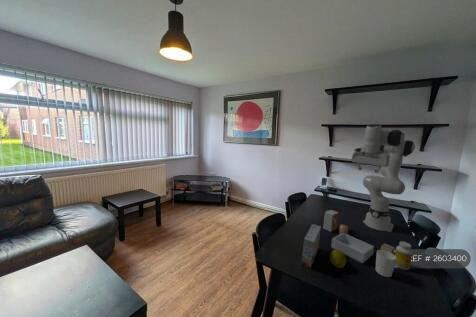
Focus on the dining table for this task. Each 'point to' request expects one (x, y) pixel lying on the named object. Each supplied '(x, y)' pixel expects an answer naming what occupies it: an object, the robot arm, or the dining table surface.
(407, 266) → the supplement bottle
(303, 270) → the dining table surface
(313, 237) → the snack box
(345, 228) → the brown oval piece
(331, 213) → the small box
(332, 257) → the lemon
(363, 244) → the tote
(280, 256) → the dining table surface
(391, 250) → the beech cube
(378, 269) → the white cup
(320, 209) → the dining table surface
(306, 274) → the dining table surface
